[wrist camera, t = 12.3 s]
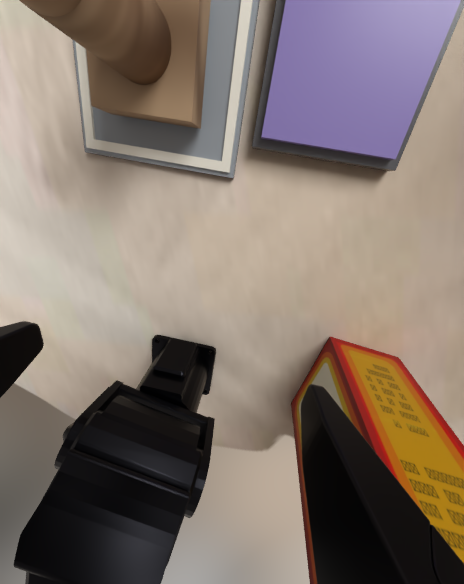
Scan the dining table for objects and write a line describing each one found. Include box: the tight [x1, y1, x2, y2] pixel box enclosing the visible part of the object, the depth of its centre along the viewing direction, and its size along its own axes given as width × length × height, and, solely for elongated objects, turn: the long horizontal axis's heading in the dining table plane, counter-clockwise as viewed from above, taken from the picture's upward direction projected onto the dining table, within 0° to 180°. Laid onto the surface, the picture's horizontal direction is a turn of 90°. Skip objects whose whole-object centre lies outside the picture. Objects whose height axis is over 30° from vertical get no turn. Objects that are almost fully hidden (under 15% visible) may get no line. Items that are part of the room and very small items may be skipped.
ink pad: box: [252, 0, 464, 171], centre depth 13 cm, size 9×9×2 cm
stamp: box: [20, 0, 211, 129], centre depth 10 cm, size 6×6×10 cm
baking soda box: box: [291, 337, 464, 584], centre depth 16 cm, size 10×6×16 cm
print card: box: [73, 0, 260, 178], centre depth 14 cm, size 11×11×1 cm
